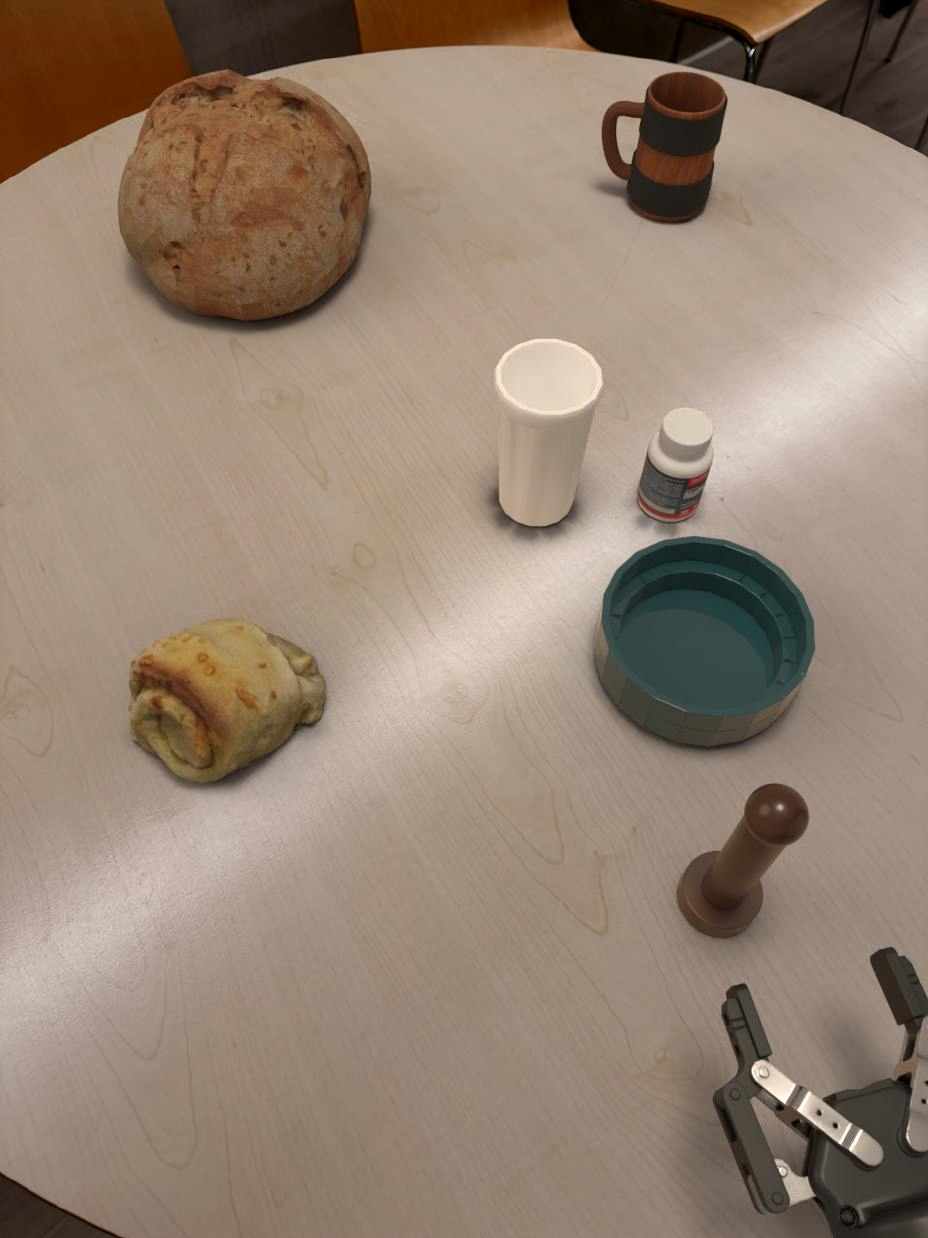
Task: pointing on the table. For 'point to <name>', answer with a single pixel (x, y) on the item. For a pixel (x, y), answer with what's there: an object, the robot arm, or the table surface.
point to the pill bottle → (677, 465)
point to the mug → (669, 144)
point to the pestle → (742, 862)
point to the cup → (543, 426)
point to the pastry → (221, 697)
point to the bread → (244, 195)
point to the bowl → (702, 640)
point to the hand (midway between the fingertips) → (807, 969)
